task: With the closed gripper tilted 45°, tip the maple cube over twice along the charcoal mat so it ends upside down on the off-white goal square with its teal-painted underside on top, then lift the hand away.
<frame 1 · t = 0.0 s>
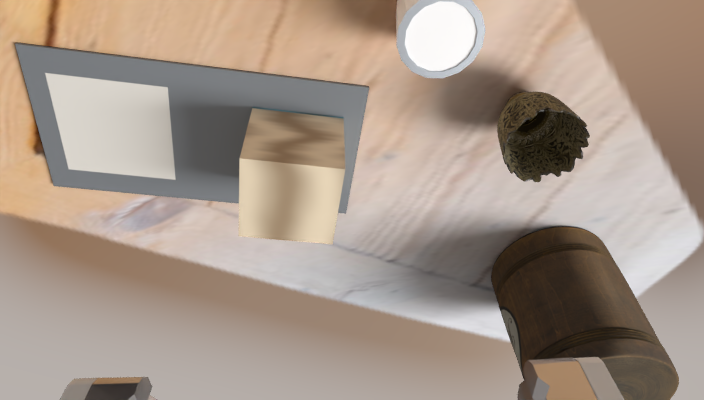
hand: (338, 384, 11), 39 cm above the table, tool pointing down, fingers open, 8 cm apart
cup: (519, 104, 51), on the table
charcoal mat: (202, 138, 52), on the table
maple cube: (295, 149, 53), resting on charcoal mat
wooden container: (547, 266, 66), on the table
white cylindrical piece: (427, 7, 45), on the table
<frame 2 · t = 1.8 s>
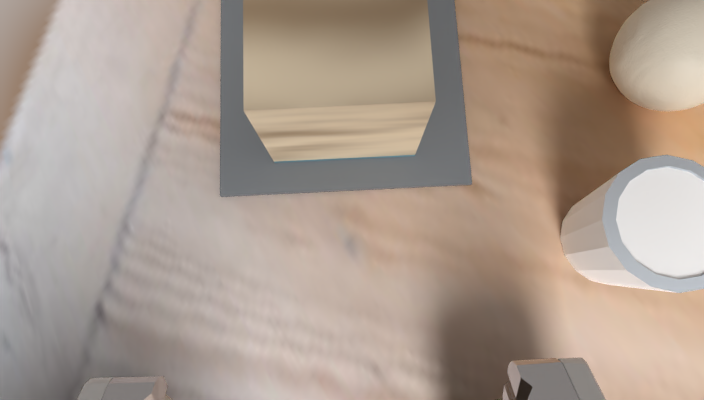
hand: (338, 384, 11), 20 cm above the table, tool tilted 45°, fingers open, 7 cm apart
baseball: (642, 75, 34), on the table
maple cube: (341, 93, 33), resting on charcoal mat
white cylindrical piece: (603, 239, 32), on the table
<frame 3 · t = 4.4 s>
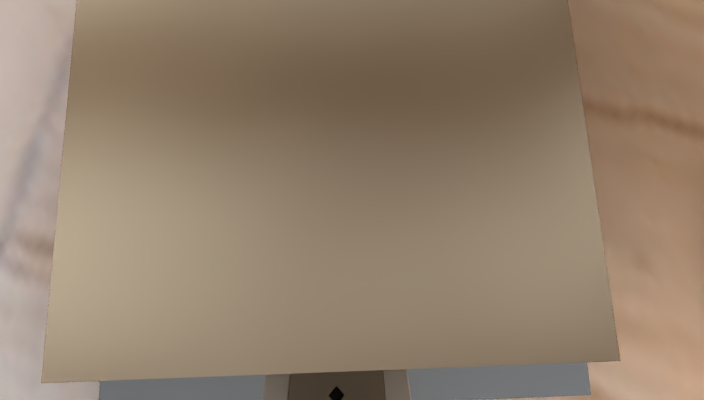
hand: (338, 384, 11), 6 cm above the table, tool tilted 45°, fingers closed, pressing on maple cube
maple cube: (338, 207, 18), resting on charcoal mat, touching gripper
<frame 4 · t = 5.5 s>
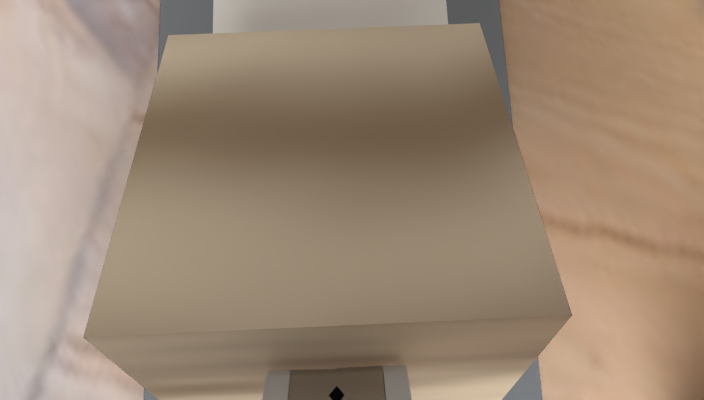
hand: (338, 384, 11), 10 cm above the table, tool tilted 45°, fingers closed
charcoal mat: (333, 102, 23), on the table
maple cube: (339, 304, 19), point 2 cm above the table, tilted 24°, touching charcoal mat, gripper
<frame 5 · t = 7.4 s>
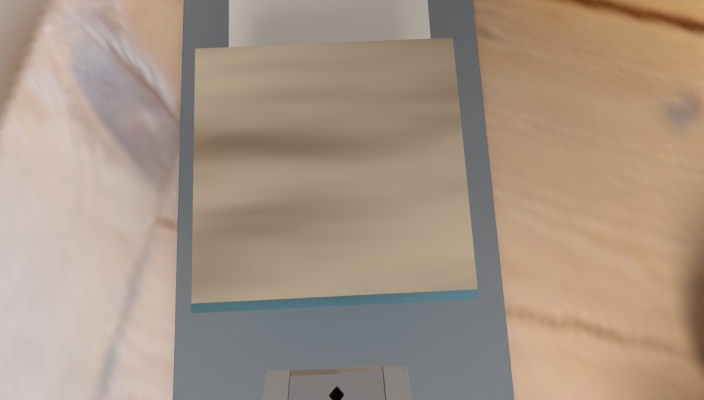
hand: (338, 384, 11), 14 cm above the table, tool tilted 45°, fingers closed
charcoal mat: (336, 206, 26), on the table
maple cube: (338, 306, 20), point 5 cm above the table, tilted 90°, touching charcoal mat
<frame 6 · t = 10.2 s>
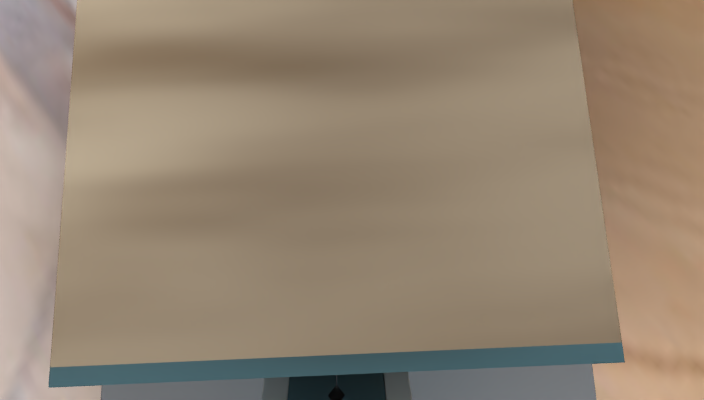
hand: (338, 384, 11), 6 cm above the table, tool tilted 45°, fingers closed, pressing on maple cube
charcoal mat: (341, 190, 18), on the table
maple cube: (343, 349, 12), point 5 cm above the table, tilted 90°, touching charcoal mat, gripper
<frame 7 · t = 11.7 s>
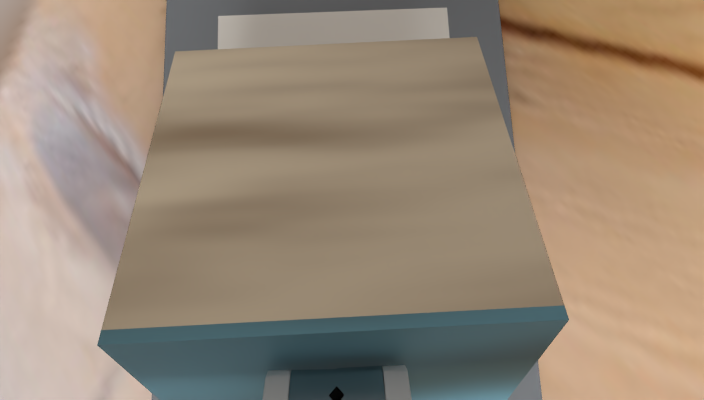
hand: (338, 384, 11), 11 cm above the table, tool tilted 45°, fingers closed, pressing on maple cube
charcoal mat: (343, 309, 22), on the table
maple cube: (343, 399, 13), point 8 cm above the table, tilted 115°, touching charcoal mat, gripper
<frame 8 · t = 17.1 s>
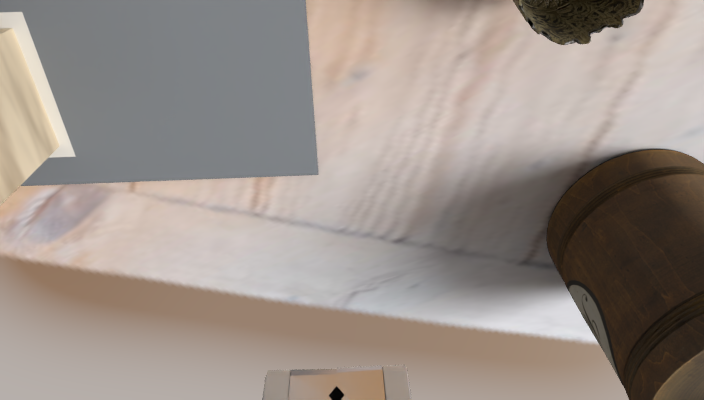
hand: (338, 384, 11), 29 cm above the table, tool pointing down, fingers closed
charcoal mat: (93, 87, 37), on the table
wooden container: (627, 220, 46), on the table
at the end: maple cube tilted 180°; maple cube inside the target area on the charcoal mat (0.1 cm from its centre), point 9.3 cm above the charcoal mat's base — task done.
